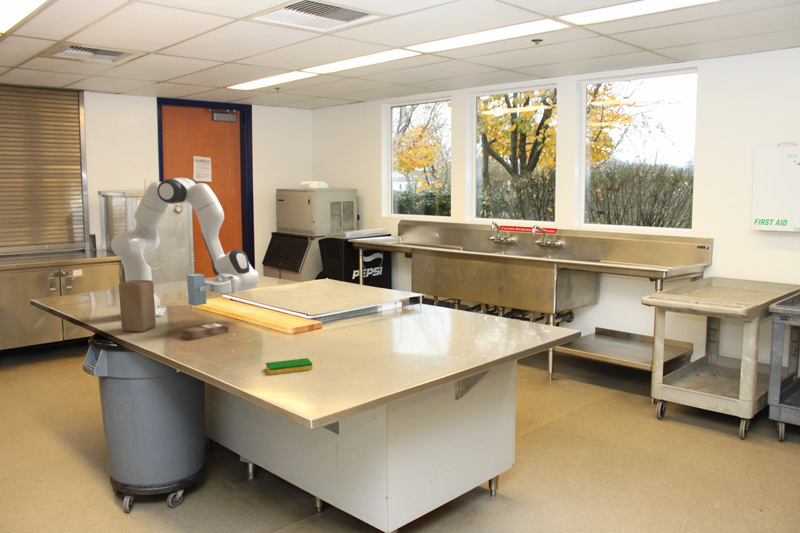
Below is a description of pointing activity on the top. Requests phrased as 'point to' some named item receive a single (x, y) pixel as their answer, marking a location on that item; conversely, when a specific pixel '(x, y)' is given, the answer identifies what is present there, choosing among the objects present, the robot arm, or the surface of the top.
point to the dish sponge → (289, 366)
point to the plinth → (204, 331)
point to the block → (137, 305)
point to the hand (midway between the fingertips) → (194, 288)
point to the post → (196, 289)
